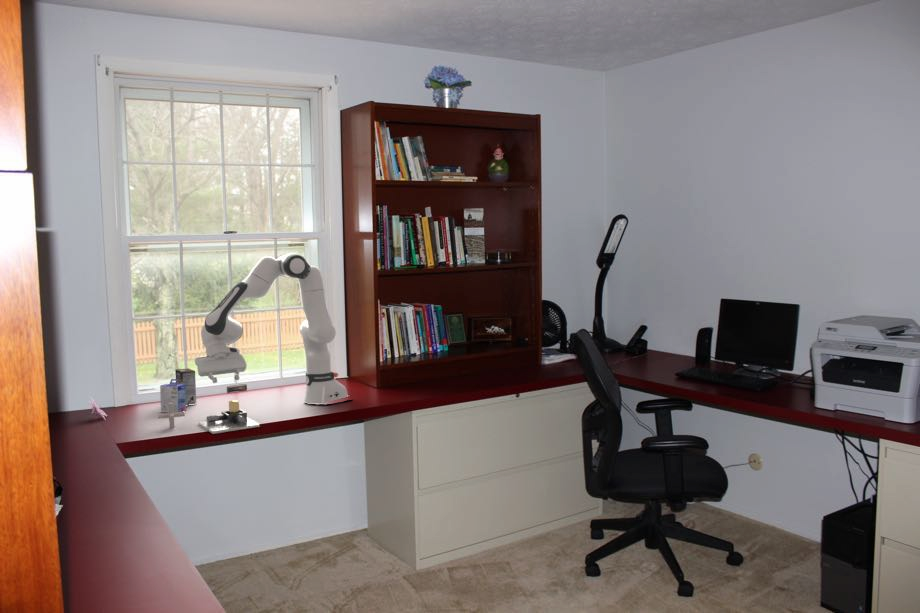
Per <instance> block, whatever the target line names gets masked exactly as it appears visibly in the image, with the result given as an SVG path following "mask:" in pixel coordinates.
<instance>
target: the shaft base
mask: <svg viewBox="0 0 920 613" xmlns="http://www.w3.org/2000/svg"><path fill="white" fill-rule="evenodd" d="M197 423H198V424H199V426H200V427H201V426H202V427H201V428H203V429H204V428H205V429H204V430H206V429H207V430H208V431H207V430H206V431H207V432H209V433H211V434H212V435H214V434H221V433H226V432H233V431H239V430H247V429H253V428H259V427H260V426H261V424H260V423H258V422H257V421H255V420H253V419H251V418H249V417H248V412H247V411H245V410H243V409H242V408H239V413H236V414H229V410H223V411H221V414H215V415H208V416H206V420H203V421H198V422H197Z"/></svg>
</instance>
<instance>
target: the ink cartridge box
mask: <svg viewBox="0 0 920 613" xmlns="http://www.w3.org/2000/svg"><path fill="white" fill-rule="evenodd" d="M177 382H178V379H176V378H171V379H170V381H169V383H166V384H162V385H159V386H160V387H159V388H160V390H159V391H160V413H167V412H168V413H169V404H168V403H173V408H174V413H178V412H183V411H185V412H187V406H186V394H185V385H184V384H177Z"/></svg>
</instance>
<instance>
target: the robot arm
mask: <svg viewBox="0 0 920 613" xmlns="http://www.w3.org/2000/svg"><path fill="white" fill-rule="evenodd" d="M280 276H282V277H284V278H289V279H296V280H297V282H298V285H299V291H300V292H299V293H300V294H299V295H300V302H301V308H302V310H303V312H304V314H305V315H304V316H305V318H306V319H305V320H304V321H303V322H302V323H301V324H300V327H299V331H300V334H301V337H302V342H303V348H304V352H305V358H306V359H305V363H306V364H305V365H306V372H305V385H306V389H305V396H304V401H305V402H307V403H325V402H329V401H333V400H337V399H341V398H345V397H348V396H349V395H348V390H347V387H346V386H345V385H344V384H342V383H340V381H338V380H336V379H335V378H338V376H339V373H338V372H333V371H331V366H332V365H331V355H330V352H329V349H328V348H329V347H328V345H327V344H329V343H331V342H333V341H334V339H335V338H336V334H337V332H336V329H335V328H336V327H335V326H334V325H333V322H332V318H331V316H330V312H329V309H328V304H327V298H326V291H325V284H324V279H323V275H322V273H321V270H320V268H319V267H317V266H315V265H310V264H309V263H308V260H306V258H305V257H304V256H303V255H301V254H299V253H293V252H289V253H284V254H281V255H279V256H277V257H276V258H274V257H272V256H270V255H269V256H268V255H265V256H263V257H262V258H260V259H259V261H258V262H257V263H256V264H255V266H253V268H252V270H250V272H249V274H248V275H247V276H246V278H244V279H243V280H242V281H238V282H237V283H236V284H235V285H234V286H233V287H232V288H231V289H230V291H229V292H227V293H226V295H225V296H224V298H222V300H221V301H220V302H219V303H218V305H217V306H216V307H214V309H213V310H211V312H209V313H208V314H207V315H206V317H205V318H204V319H205V320H204V325H203V326H202V328H201V331H200V333H201V334H200V335H201V341H202V344H203V347H204V348H205V353H206V355H205V356H198V357H197V358H195V359H194V364H195V365H196V368H197V369H196V370H197V373H198V376H199V377H208V379H210V380H211V381H212V383H213V384H216V383H218V379H217V377H214V376H217V375H218V376H219V375H226V374H232V373H233V374H234V380H235V381H239V380H240V376H239V375H240V373H244V372H245V371H246V370H247V366H248V365H247V362H246V360H245V357H244V356H243V355H242V354H241V353H240V352H241V351H240V349H239V348H237V347H231V346H229V345H231V344H233V343H235V342H237V341H239V339H241V338H242V336H243V333H244V328H243V325H242V324H241V323H240V322H238V321H237V320H235V319H234V318H232V317H230V316H229V315H230V313H231V312H232V311H233V309H234V308H236V306H237V305H238V303H239V302H240V301H241V300H244V299H260V298H264V297H265V296H266V295H267V294H268V293H269V291H271V288H272V287H273V284H275V281H276V280H277V279H278V278H279V277H280ZM304 401H303V402H304Z"/></svg>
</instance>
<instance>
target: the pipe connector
mask: <svg viewBox="0 0 920 613" xmlns="http://www.w3.org/2000/svg"><path fill="white" fill-rule="evenodd" d="M168 404H169V413H167V412H165V413H158V414H157V418H158V419H168V422H169V426H168V427H169V428H170V429H173V428H175V418H181V417H185V416H186V414H185V412H178V413H174V408H173V403H168Z"/></svg>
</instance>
